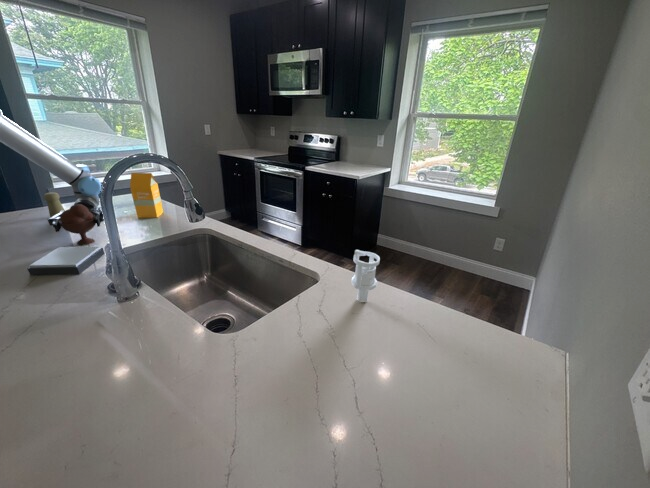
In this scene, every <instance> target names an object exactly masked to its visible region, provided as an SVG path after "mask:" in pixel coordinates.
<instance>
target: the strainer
mask: <svg viewBox="0 0 650 488" xmlns="http://www.w3.org/2000/svg"><path fill="white" fill-rule="evenodd" d="M365 256H367V257H369V258H368V259H369V260H368V262H365V261H363V260H361V259H360V257H365ZM352 259H353V263H354V264H355V271H354V275H353V276H352V277H351V282H350V283H351V285H352V287H354V288H355V289H357V296H356V301H357V300H358V301H359V302H358V301H357V302H358V303H361V302H365V303H367V302H368V299H369V291H372V290H375V289H376V288H377V286H378V280H377V278H376V271H377V267H378V266H379V265H380V261H381V257H380V255H378V254H377V253H375V252H371V251H366V250H365V251H364V250H360V249H355V250H354V254H353V258H352Z"/></svg>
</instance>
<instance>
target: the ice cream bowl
mask: <svg viewBox="0 0 650 488" xmlns="http://www.w3.org/2000/svg"><path fill="white" fill-rule="evenodd" d="M60 219H61V220H60V221H59V223H60V225H61V226H62V227H61V228H62V229H63V230H64V231H66V232H68V233H72V234H77V235H79V236H80V239H79V240H78V241H76V246H79V247H84V246H88V245H91V244H93V243H94V242H95V241H96V240H94V238H91V237H88V236H87V233H88V232H90V231H91V230H92V229H94V227H95V226H97V224H96V221H95V219H96V216H95V215H93V214H92V213H91V212H89V210H88V208H87V207H86V206H84V205H82V204H77V205H74V204H73V205H71V206H70V207H69V208H68V209H65V211H64V212H63V213H62V214H61V216H60Z"/></svg>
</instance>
